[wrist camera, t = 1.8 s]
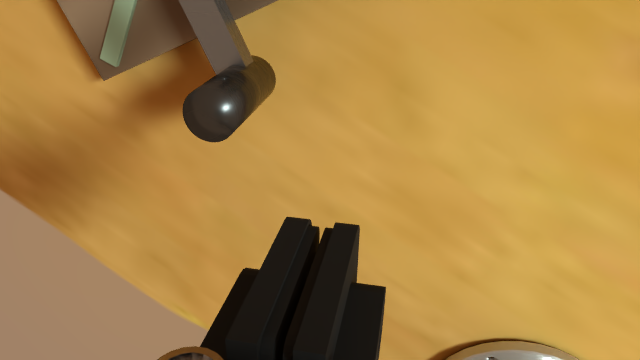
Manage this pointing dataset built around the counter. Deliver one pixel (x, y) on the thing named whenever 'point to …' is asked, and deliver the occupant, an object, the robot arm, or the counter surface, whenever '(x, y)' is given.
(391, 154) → the counter surface
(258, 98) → the grey crank handle
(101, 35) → the crank board
